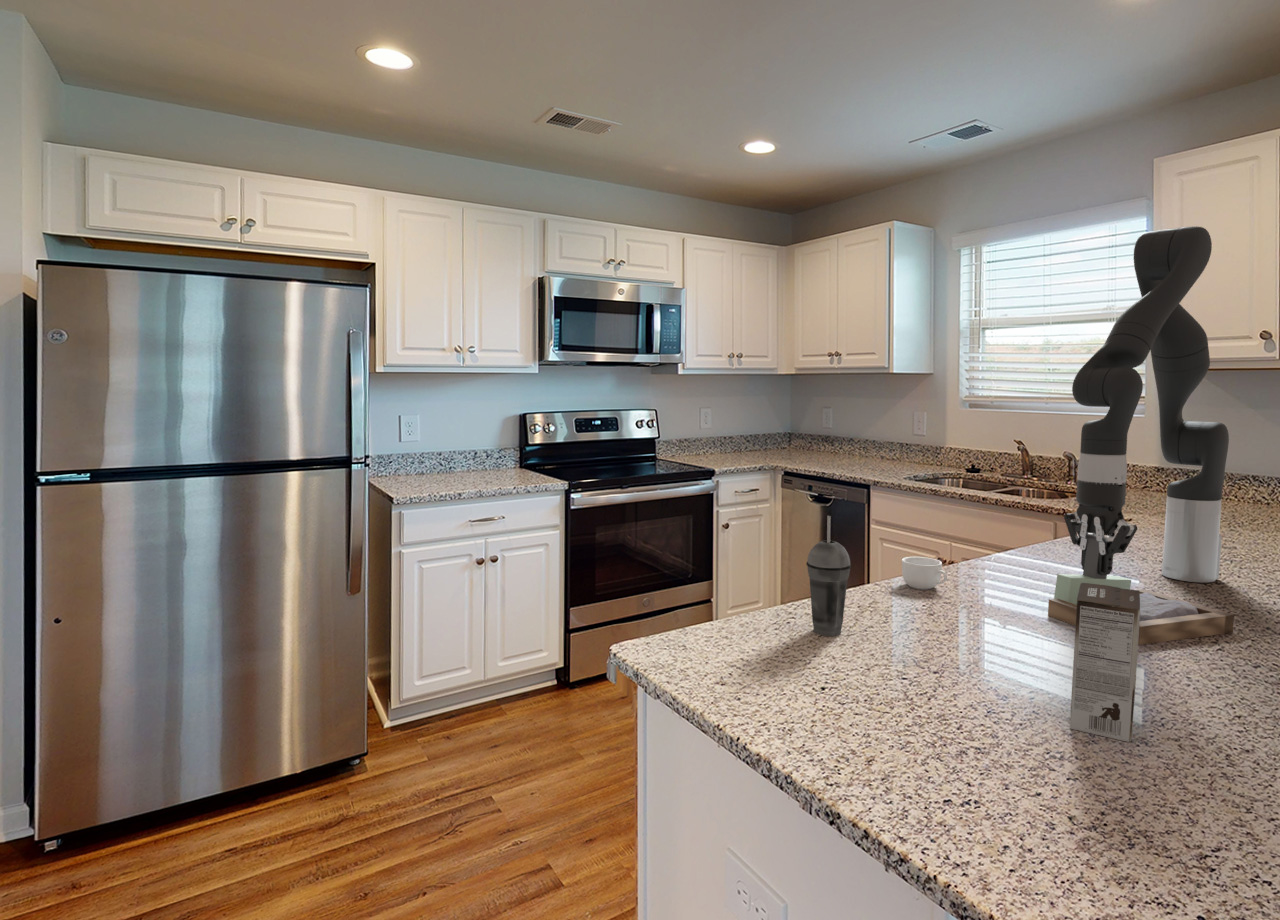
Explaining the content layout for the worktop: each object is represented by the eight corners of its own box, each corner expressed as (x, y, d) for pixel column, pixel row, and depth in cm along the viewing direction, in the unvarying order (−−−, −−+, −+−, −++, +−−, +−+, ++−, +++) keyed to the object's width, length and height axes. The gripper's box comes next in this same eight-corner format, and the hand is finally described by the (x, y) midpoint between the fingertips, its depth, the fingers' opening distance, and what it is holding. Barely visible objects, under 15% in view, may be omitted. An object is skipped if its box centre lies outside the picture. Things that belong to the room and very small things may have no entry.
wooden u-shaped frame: (1142, 604, 136) (1143, 589, 136) (1232, 632, 121) (1234, 614, 121) (1047, 615, 130) (1048, 599, 130) (1130, 646, 115) (1131, 627, 115)
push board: (1067, 605, 130) (1076, 539, 129) (1053, 600, 133) (1062, 536, 132) (1127, 606, 134) (1136, 542, 133) (1112, 601, 137) (1121, 539, 136)
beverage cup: (850, 627, 125) (853, 512, 123) (848, 641, 118) (851, 519, 116) (807, 622, 127) (809, 510, 125) (802, 636, 120) (804, 517, 118)
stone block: (1160, 644, 121) (1206, 627, 124) (1156, 616, 121) (1202, 600, 123) (1098, 624, 133) (1141, 609, 135) (1095, 599, 132) (1138, 584, 135)
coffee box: (1073, 702, 95) (1080, 581, 93) (1133, 714, 91) (1141, 588, 90) (1067, 729, 87) (1074, 598, 86) (1132, 743, 84) (1140, 607, 82)
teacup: (892, 584, 151) (893, 559, 151) (918, 579, 155) (919, 555, 154) (932, 596, 143) (933, 569, 142) (958, 591, 146) (959, 564, 146)
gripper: (1053, 475, 137) (1048, 565, 139) (1120, 484, 124) (1114, 583, 125) (1084, 473, 139) (1079, 562, 141) (1154, 482, 126) (1147, 580, 127)
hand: (1096, 571), depth 133 cm, fingers closed on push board, 2 cm apart
